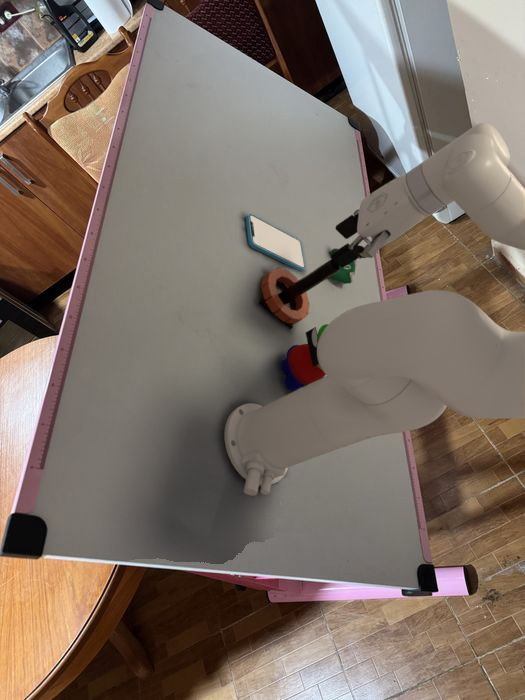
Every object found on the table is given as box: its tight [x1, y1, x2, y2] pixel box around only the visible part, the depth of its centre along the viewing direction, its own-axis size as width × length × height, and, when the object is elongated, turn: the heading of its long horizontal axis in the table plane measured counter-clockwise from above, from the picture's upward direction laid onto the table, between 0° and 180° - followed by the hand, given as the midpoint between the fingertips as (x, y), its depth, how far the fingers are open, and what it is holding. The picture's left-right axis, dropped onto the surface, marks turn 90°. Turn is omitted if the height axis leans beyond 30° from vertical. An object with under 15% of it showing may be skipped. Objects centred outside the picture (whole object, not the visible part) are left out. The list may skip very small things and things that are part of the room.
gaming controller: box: [328, 248, 358, 285], centre depth 121 cm, size 9×4×6 cm
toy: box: [280, 323, 330, 392], centre depth 92 cm, size 9×9×15 cm
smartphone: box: [245, 213, 306, 272], centre depth 110 cm, size 8×1×15 cm
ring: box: [260, 267, 310, 325], centre depth 102 cm, size 10×10×2 cm
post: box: [258, 258, 340, 330], centre depth 99 cm, size 8×8×14 cm
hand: (338, 246), depth 97 cm, fingers open, 7 cm apart
